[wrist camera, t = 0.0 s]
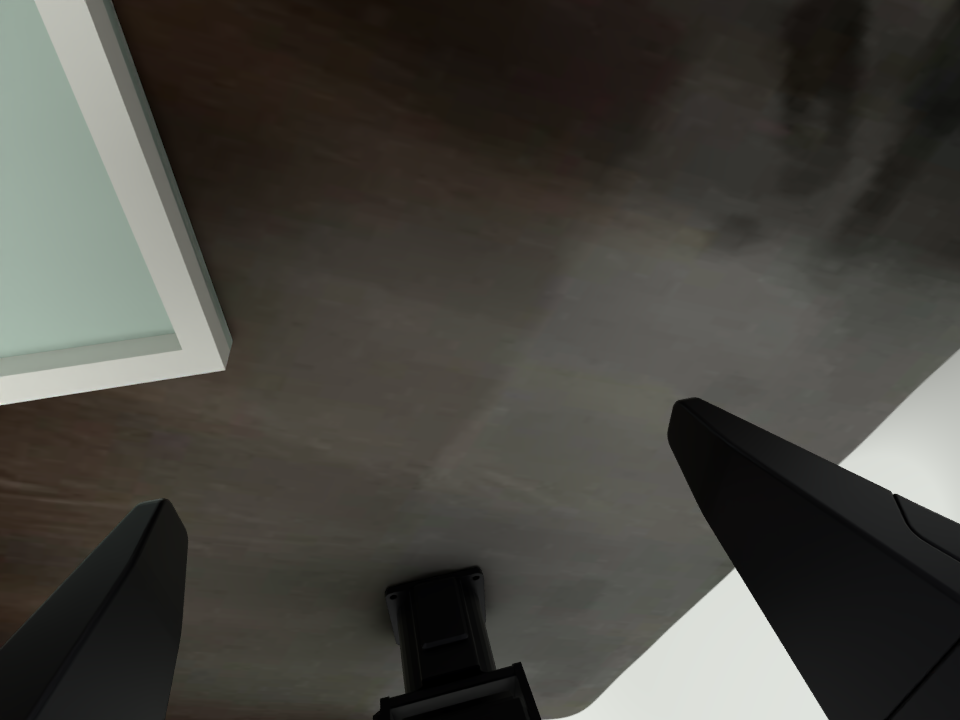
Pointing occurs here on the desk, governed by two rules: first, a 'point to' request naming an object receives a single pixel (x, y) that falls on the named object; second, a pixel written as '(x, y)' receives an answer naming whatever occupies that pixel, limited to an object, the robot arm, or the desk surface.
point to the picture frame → (91, 217)
